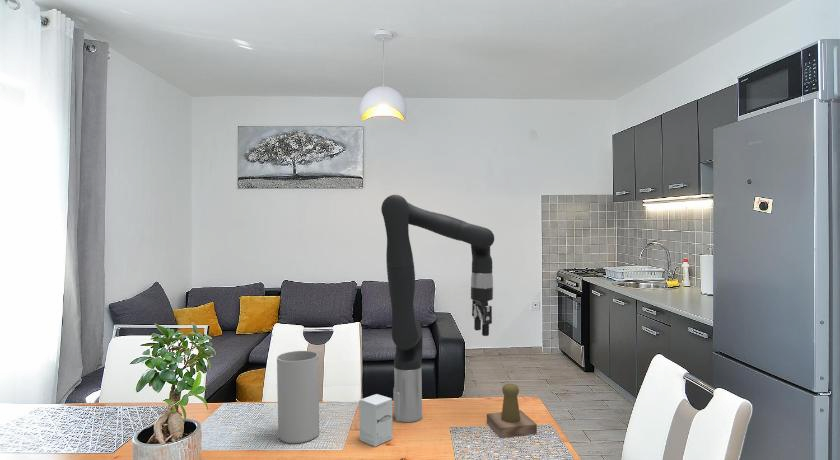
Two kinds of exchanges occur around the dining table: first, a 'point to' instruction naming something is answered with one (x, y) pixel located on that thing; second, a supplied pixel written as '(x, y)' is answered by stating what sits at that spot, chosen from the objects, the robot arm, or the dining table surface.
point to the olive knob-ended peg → (510, 404)
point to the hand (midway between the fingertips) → (481, 332)
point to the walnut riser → (511, 425)
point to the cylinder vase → (298, 396)
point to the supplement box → (375, 419)
